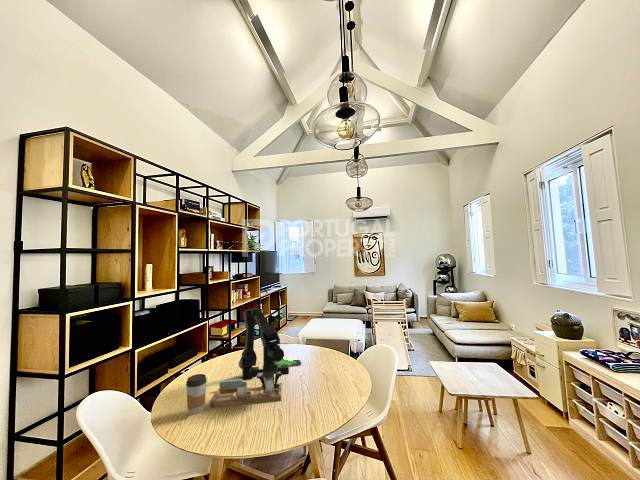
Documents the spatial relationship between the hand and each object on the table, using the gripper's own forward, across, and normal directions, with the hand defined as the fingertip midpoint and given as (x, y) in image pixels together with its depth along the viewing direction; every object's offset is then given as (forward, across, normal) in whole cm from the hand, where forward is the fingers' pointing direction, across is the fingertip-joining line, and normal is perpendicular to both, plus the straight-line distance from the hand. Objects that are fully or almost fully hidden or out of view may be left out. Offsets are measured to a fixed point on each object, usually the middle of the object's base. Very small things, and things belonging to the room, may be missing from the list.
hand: (269, 389), depth 126 cm
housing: (+4, -10, +2) cm, 11 cm away
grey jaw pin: (+1, 0, 0) cm, 1 cm away
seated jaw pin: (+3, -13, 0) cm, 13 cm away
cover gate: (+3, -20, +10) cm, 23 cm away
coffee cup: (+4, -32, -7) cm, 33 cm away
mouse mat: (+5, +5, +51) cm, 52 cm away
